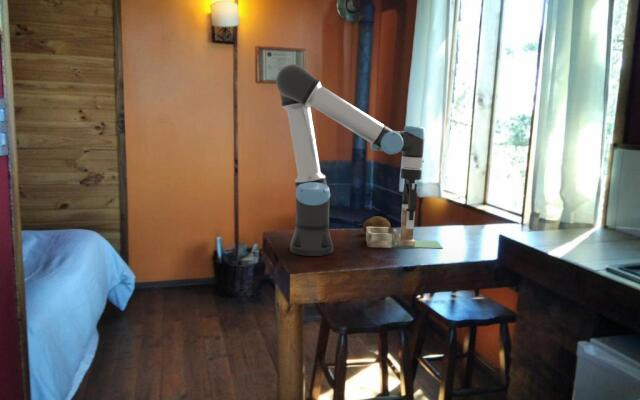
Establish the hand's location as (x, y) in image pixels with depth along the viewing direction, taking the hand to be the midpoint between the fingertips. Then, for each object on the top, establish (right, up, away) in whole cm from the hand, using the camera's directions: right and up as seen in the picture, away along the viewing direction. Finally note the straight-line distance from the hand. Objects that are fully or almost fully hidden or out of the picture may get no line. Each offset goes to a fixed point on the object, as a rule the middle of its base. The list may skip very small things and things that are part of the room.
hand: (407, 224), depth 194 cm
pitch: (0, -7, +1) cm, 8 cm away
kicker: (-1, -7, +1) cm, 8 cm away
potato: (-10, -5, +15) cm, 19 cm away
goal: (-10, -7, +1) cm, 13 cm away
